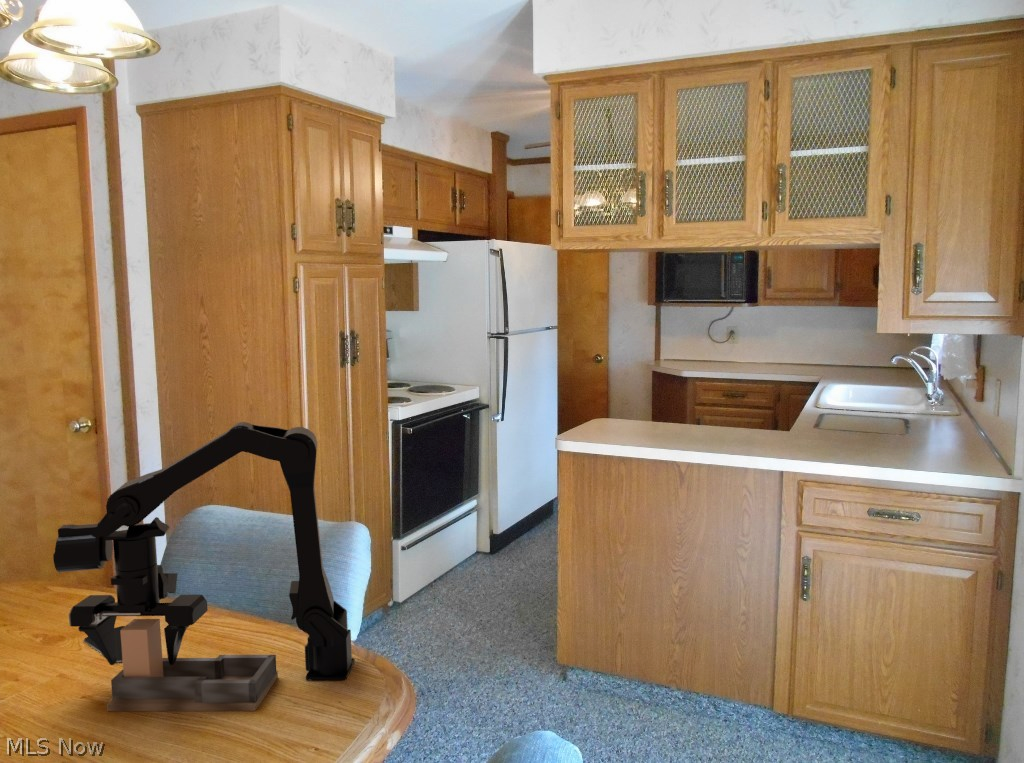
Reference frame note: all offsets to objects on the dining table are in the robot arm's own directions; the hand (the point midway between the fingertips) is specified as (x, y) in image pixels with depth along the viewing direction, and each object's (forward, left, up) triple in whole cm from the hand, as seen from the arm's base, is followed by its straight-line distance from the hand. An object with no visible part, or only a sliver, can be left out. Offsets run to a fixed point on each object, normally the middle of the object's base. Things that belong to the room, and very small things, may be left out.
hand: (143, 663), depth 116 cm
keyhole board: (-8, 0, -5) cm, 9 cm away
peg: (0, 0, -4) cm, 4 cm away
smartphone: (+13, -17, -5) cm, 22 cm away
